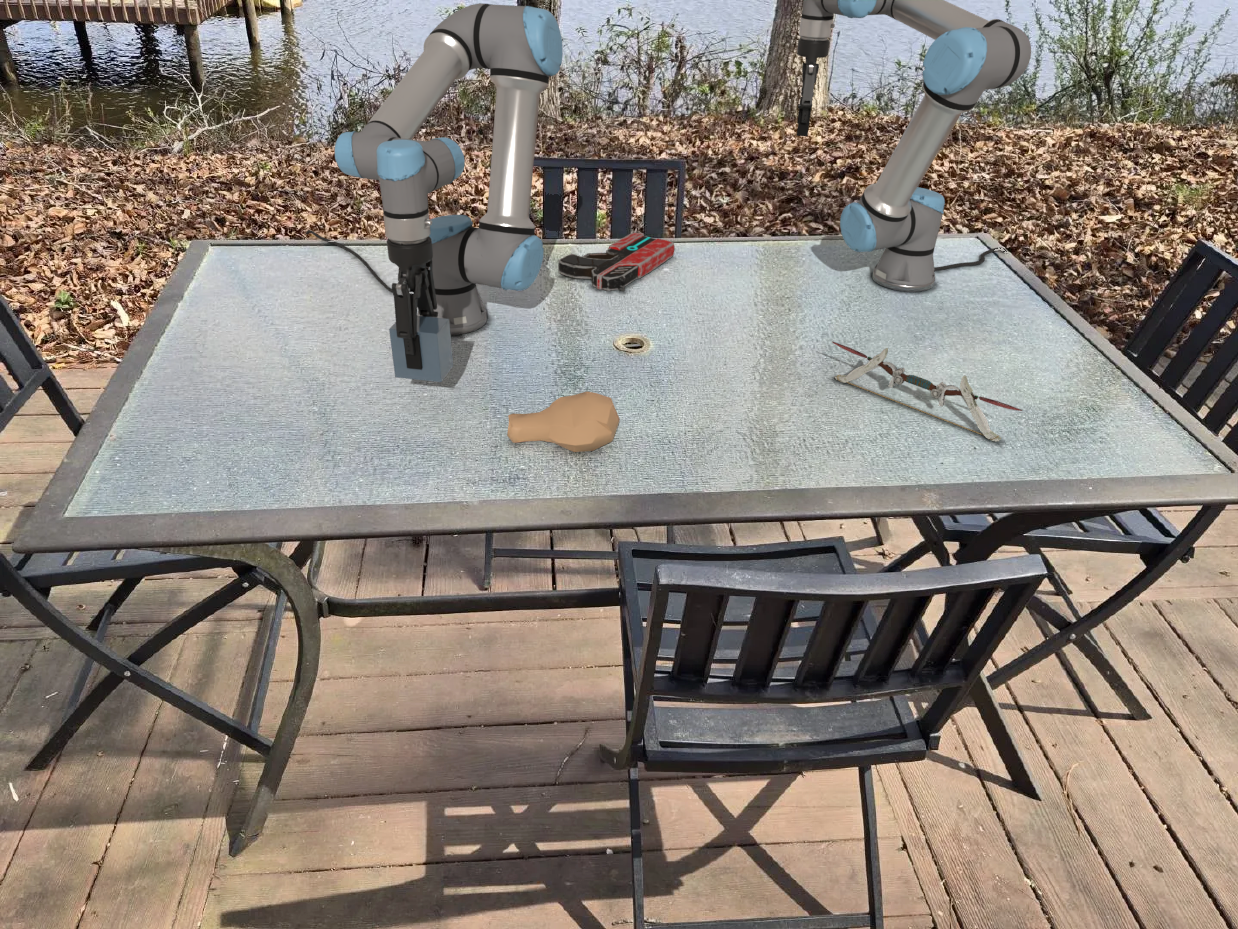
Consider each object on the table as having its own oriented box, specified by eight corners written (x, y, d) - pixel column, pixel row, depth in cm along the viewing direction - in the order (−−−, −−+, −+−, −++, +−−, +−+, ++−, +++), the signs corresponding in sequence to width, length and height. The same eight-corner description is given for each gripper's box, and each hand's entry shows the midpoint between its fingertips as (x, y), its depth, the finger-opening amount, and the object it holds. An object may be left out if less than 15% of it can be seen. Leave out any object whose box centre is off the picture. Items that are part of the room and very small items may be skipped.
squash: (622, 459, 152) (616, 419, 146) (509, 467, 154) (498, 429, 148) (622, 418, 160) (617, 379, 154) (514, 426, 162) (505, 388, 155)
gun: (551, 260, 217) (618, 279, 209) (616, 225, 239) (679, 240, 231) (552, 278, 220) (618, 297, 212) (615, 241, 242) (677, 256, 234)
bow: (1013, 444, 159) (1029, 396, 153) (1009, 448, 158) (1025, 400, 152) (828, 373, 180) (836, 328, 175) (824, 376, 179) (831, 331, 174)
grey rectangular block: (441, 382, 160) (437, 333, 155) (395, 377, 161) (388, 328, 156) (453, 366, 166) (449, 318, 160) (408, 361, 167) (402, 314, 161)
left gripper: (409, 259, 141) (422, 385, 153) (448, 221, 157) (458, 338, 170) (364, 255, 142) (382, 381, 154) (408, 217, 158) (421, 334, 170)
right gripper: (831, 46, 201) (817, 142, 213) (829, 31, 222) (816, 119, 234) (798, 44, 202) (786, 140, 214) (799, 30, 223) (788, 117, 235)
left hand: (421, 358), depth 162 cm, fingers closed on grey rectangular block, 7 cm apart
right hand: (802, 129), depth 224 cm, fingers open, 13 cm apart
